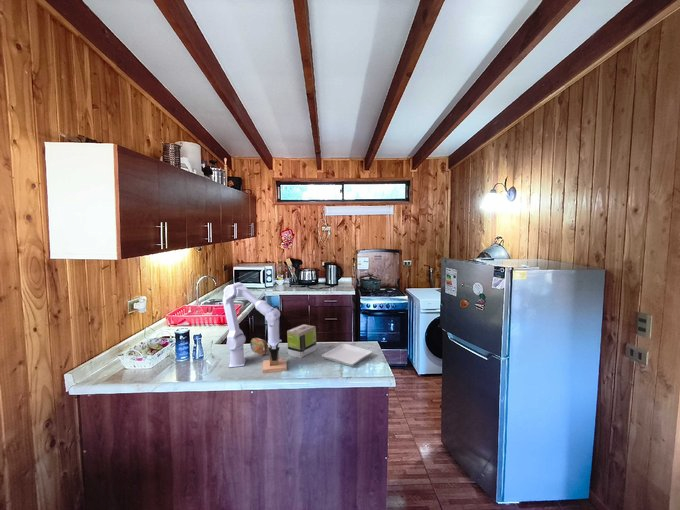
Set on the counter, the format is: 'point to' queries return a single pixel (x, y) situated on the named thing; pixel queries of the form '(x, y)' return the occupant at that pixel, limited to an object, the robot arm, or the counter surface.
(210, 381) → the counter surface
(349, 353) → the salad plate
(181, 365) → the counter surface
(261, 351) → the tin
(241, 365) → the robot arm
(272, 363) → the walnut block
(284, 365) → the terracotta trivet
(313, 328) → the tea box
